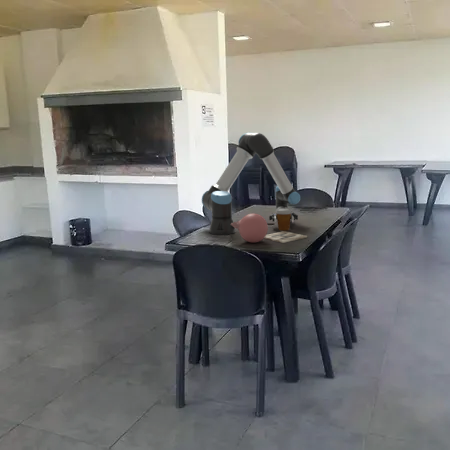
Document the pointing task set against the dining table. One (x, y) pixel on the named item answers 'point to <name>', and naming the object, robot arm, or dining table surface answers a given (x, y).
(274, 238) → the board
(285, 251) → the dining table surface
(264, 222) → the balloon
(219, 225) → the robot arm
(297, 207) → the dining table surface
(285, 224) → the disposable coffee cup
